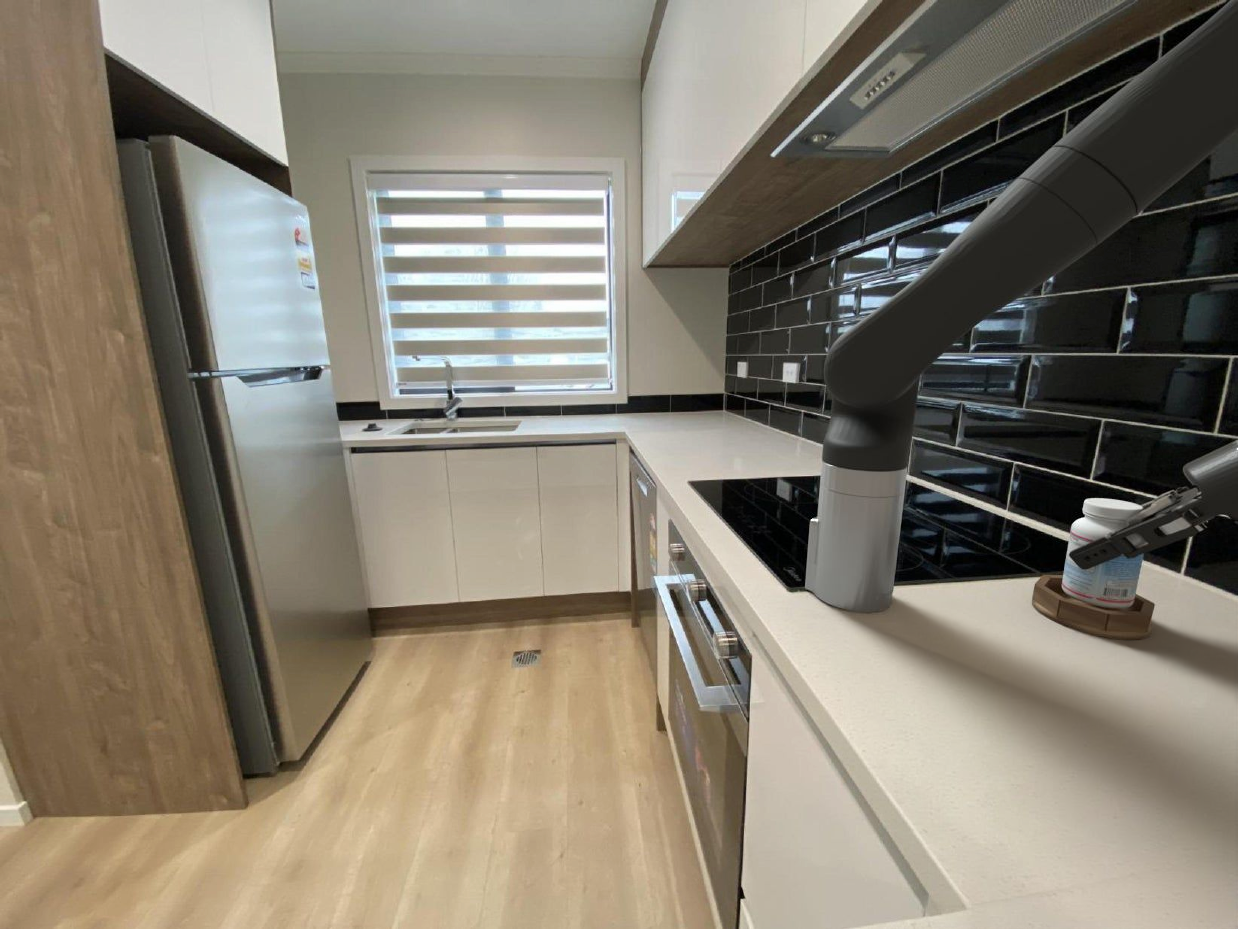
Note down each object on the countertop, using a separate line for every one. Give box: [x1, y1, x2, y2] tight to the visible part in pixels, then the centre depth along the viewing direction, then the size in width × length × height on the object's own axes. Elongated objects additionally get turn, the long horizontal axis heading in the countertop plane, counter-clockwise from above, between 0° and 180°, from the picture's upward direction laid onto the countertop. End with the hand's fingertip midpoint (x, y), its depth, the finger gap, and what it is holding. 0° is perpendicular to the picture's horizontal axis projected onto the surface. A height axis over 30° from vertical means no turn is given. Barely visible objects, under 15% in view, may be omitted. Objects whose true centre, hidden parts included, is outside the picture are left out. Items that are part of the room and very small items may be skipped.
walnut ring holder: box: [1031, 574, 1156, 641], centre depth 57 cm, size 10×10×3 cm
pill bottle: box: [1062, 497, 1145, 609], centre depth 55 cm, size 6×6×11 cm
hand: (1082, 553), depth 57 cm, fingers closed on pill bottle, 6 cm apart
